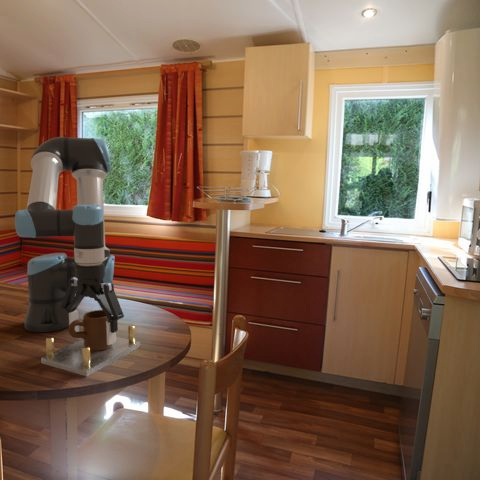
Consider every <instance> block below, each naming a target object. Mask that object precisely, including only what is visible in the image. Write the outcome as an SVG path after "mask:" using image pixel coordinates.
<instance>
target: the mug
mask: <svg viewBox="0 0 480 480" xmlns="http://www.w3.org/2000/svg"><path fill="white" fill-rule="evenodd" d="M82 317H83V318H82V319H79V320H75V321H73V322H71V324H70V325H69V327H67V328H68V330H67V331H68V333H69V336H70V335H71V337H72V338H73V339H80V338H81V339H84V347H85V346H89V347H90V351H101V350H105V349H107V348H109V347H110V346H111V345H112V344H111V345H107V328H106V321H108V318H107V316H106V315H105V313H104V311H103V310H102V309H97V310H90V311H88V312H86V313H84V314H83V316H82ZM75 326H79V327H82V329H83V331H82V330H81V331H80V330H79V332H76V331H75Z"/></svg>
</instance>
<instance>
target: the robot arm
mask: <svg viewBox="0 0 480 480" xmlns="http://www.w3.org/2000/svg"><path fill="white" fill-rule="evenodd" d="M109 152H110V151H109V147H108V144H107V142H106V140H104V139H100V138H94V137H92V138H87V137H84V138H83V137H71V136H70V137H69V136H68V137H67V136H57V137H53V138H49V139H48V140H46V141H44V142H43V143H41V144H40V145H38V147H37V148H36V149H35V150H34V151H33V153H32V155H31V159H30V167H31V169H32V174H31V180H30V186H29V187H30V188H29V192H28V197H27V198H28V199H27V204H26V208H25V209H18V210H17V211H16V213H15V216H14V227H15V233H16V234H17V236H18V237H20V238H33V239H35V238H51V237H52V238H55V237H58V238H59V237H73V242H74V244H73V249H74V251H73V256H71V257H68V255H67V254H66V253H65V252H54V253H48V254H42V255H39V256H35V257H32V258H31V259H30V260H28V262H27V273H26V276H27V283H28V285H27V286H28V288H27V289H28V300H29V301H28V308H27V311H26V315H25V318H24V320H23V322H24V329H25V330H26V331H28V332H31V333H32V332H33V333H49V332H56V331H61V330H64V329H66V328H69V325H70V324H71V322H73V321H75V320H80V317H79V309H78V307H79V306H80V304H81V302H82V301H83V300H84V298H90V299H93V300H94V301H96V302H97V304H98V305H99V306H100V308H101V310H103V311H104V313H105V315H106V316H107V318H108V321H106V328H107V345H111V344H113V343H115V342H116V337H117V332H118V330H119V329H118V328H119V326H118V324H119V323H118V320H120V319H123V318H124V317H125V315H124V313H123V310H122V307H121V305H120V302H119V299H118V298H117V297H118V296H117V293H115V292H116V291H115V288H114V287H115V286H114V282H113V279H114V273H115V272H114V270H115V260H116V259H115V255H113V254H111V249H109V248H108V247H107V246H106V232H105V230H106V229H105V210H104V209H105V207H104V204H105V203H104V202H105V201H104V184H103V183H104V180H105V179H106V178H107V177H108V173H110V172H111V171H112V166H111V165H112V164H111V158H110V153H109ZM65 171H66V172H71V176H72V177H73V178H74V179H75V180H76V199H77V200H76V202H77V203H76V205H74V206H73V207H72V209H57V202H58V189H59V179H60V178H59V176H60V174H61V173H62V172H65ZM75 331H76V332H79V331H80V326H75ZM69 336H71V335H70V334H69ZM71 337H72V336H71Z"/></svg>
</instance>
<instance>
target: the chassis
mask: <svg viewBox="0 0 480 480" xmlns="http://www.w3.org/2000/svg"><path fill="white" fill-rule="evenodd" d="M127 329H128V330H127V333H128V336H127V337H128V338H124V337H119V336H116V342H115V343H113V344H112V345H111V346H110V347H109V348H107V349H105V350H101V351H90V347H89V346H85V347H84V339H83V338H81V339H80V340H78V341H76V342H74V343H71V344H69V345H67V346H65V347H63V348H59V349H58V350H56V351H55V342H54V341H55V339H54V336H50V337H48V336H47V337H46V338H45V347H46V349H45V350H46V355H44V356H42V357H41V358H40V359H41V360H40V361H41V362H40V363H41V364H43V365H46V366H49V367H52V368H53V367H54V368H56V369H59V370H60V369H61V370H64V371H67V372H70V373H73V374H77V375H81V376H83V377H84V376H85V377H89V376H91V375H92V374H94V373H96V372H99V370H101V369H104V368H105V367H107V366H109V365H111V364H112V363H114V362H115V361H118V360H120V359H121V358H123V357H125V356H126V355H128V354H131V353H132V352H133V350H134V351H135V350H137V349H139V348H140V347H141V341H137V340H136V326H135V325H134V324H130V325H128V326H127Z"/></svg>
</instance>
